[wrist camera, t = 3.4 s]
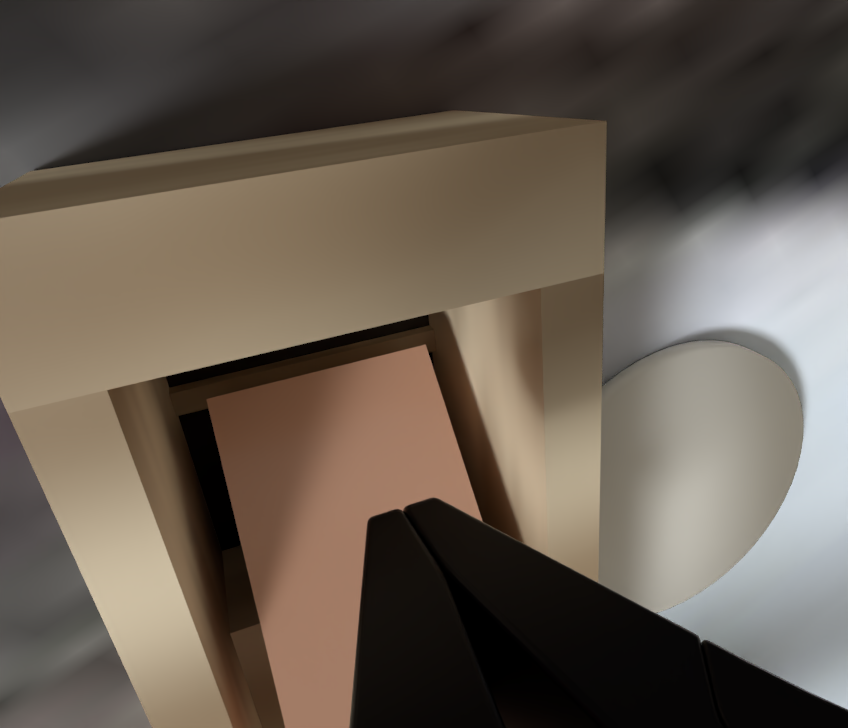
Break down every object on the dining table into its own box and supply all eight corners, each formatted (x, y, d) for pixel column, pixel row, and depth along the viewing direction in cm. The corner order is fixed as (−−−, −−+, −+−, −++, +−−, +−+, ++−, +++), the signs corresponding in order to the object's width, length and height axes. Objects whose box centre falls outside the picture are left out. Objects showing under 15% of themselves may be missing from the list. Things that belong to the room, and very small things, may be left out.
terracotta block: (537, 809, 12) (595, 873, 10) (338, 905, 11) (351, 1001, 9) (403, 377, 14) (425, 344, 12) (221, 425, 13) (206, 399, 11)
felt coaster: (766, 550, 22) (780, 562, 21) (535, 644, 19) (545, 660, 19) (807, 307, 18) (826, 314, 17) (524, 387, 15) (536, 397, 15)
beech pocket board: (500, 681, 19) (593, 851, 15) (256, 783, 17) (282, 1011, 13) (454, 110, 12) (606, 121, 8) (30, 171, 10) (-77, 230, 6)
